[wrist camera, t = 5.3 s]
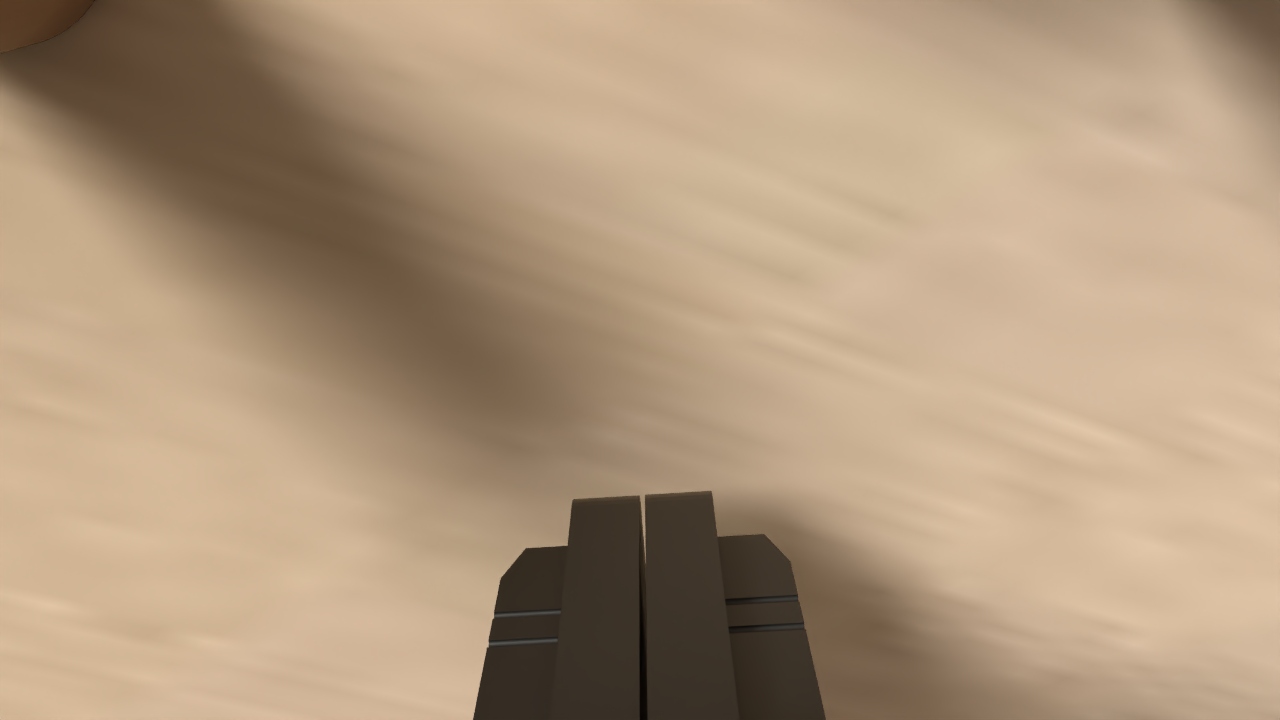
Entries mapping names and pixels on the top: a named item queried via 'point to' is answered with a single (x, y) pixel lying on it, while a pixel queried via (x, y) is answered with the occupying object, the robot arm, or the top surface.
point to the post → (36, 20)
